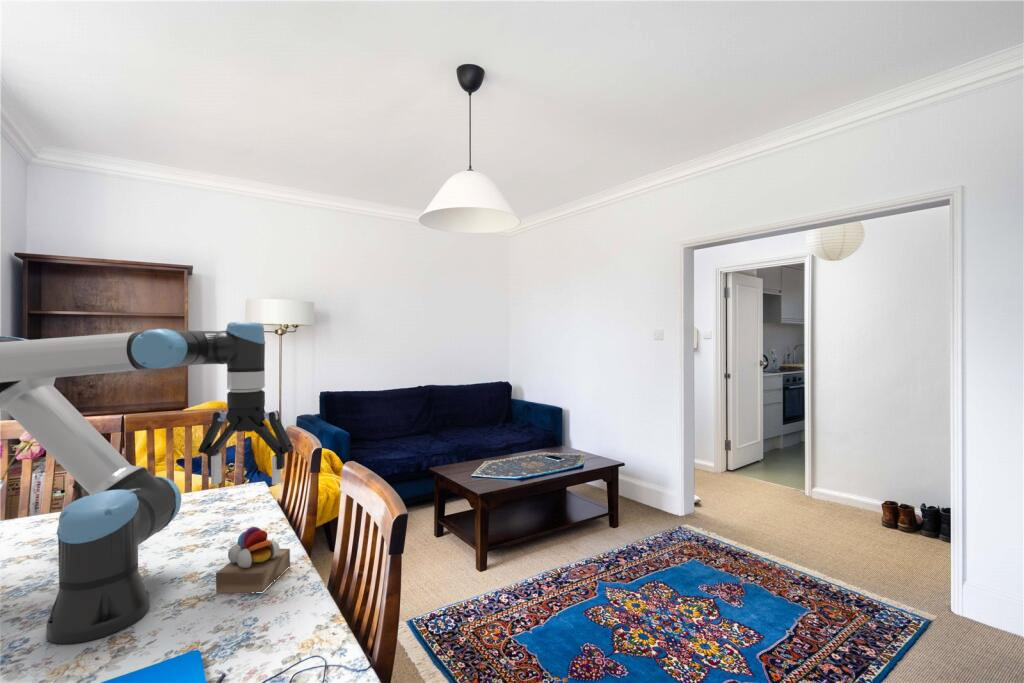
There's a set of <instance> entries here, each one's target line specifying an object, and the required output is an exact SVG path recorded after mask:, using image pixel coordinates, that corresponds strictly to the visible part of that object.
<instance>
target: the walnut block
mask: <svg viewBox="0 0 1024 683" xmlns="http://www.w3.org/2000/svg"><path fill="white" fill-rule="evenodd" d="M290 552H291V549H290V548H279V553H278V554H277V556H276V557H274V558H273V559H270V558H268V559H267V560H265V561H263V562H251V566H250V567H249V568H242V567H240V566H239V565H238V563H232V562H231V561H229V563H227V564H226V565H225V566H223V567H222V568H220V569H219V570H218V571H216V573H215V594H216V595H217V594H218V595H224V594H225V595H232V593H252V592H254V593H256V592H263V591H264V590H265V589H266V588H267V587H268V586H269V585H270V584H271V583H272V582H274V580H276V579H277V578H278V577H279V576H280V575H281V574H282V573H283V572H284V571H285V570H286V569H287V568H288V567H290V568H291V553H290ZM276 581H277V580H276ZM274 583H275V582H274Z"/></svg>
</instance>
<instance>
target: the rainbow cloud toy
mask: <svg viewBox="0 0 1024 683" xmlns="http://www.w3.org/2000/svg"><path fill="white" fill-rule="evenodd" d="M279 549H280V544H279V543H278V542H277V541H276V540H269V539H268V533H267V531H266V530H262V529H261V528H260V527H258V526H251V527H249V528H248V529H246V530H245V531H242V532H241V533H240V535H238V538H237V544H236V543H235V544H234V545H232V546H231V547H230V549H229V550H228V552H227V558H228V561H229V562H232V563H238V565H239V566H240V567H242V568H249V567H250V566H251V562H263V561H265V560H267V559H268V558H270V559H273V558H274V557H276V556H277V554H278V553H279Z"/></svg>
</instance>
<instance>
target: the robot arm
mask: <svg viewBox="0 0 1024 683" xmlns="http://www.w3.org/2000/svg"><path fill="white" fill-rule="evenodd" d="M265 340H266V338H265V327H264V325H263V323H260V322H252V321H234V322H233V321H231V322H229V323H227V325H226V329H225V330H219V331H218V330H217V331H216V330H215V331H214V330H187V329H186V330H184V329H183V330H181V329H179V330H178V329H169V328H153V329H147V330H145V331H131V332H120V333H119V332H118V333H106V334H105V333H104V334H93V335H92V334H91V335H79V336H66V337H64V336H63V337H54V338H53V337H51V338H40V339H37V338H36V339H26V338H23V337H22V338H21V337H15V336H8V335H6V336H5V335H3V336H2V335H1V336H0V411H1V412H2V411H4V412H7V414H9V415H10V417H12V419H14V420H15V421H16V422H17V423H18V424H19V425H20V427H22V428H23V429H24V431H25V432H27V433H28V434H29V435H30V436H31V437H32V438H33V439H34V440H35V441H36V442H37V443H38V444H39V446H41V447H42V449H44V450H45V451H46V453H47V454H49V455H50V456H51V457H52V458H53V459H54V461H56V462H57V463H58V464H59V465H60V466H61V467H62V468H63V469H64V470H65V471H66V472H67V473H68V474H69V475H70V477H72V478H73V479H74V480H75V481H77V482H78V483H79V484H80V485H81V486H82V487H83V488H84V489H85V490H86V491H87V492H88V493H89V495H90V496H85V497H83V498H80V499H78V500H76V501H74V500H73V501H74V502H73V501H72V502H71V503H68V504H67V505H66V506H65V507H64V508H63V509H62V511H61V512H60V513H59V516H58V517H59V518H58V525H57V530H56V535H57V539H58V540H57V543H58V544H57V545H58V550H57V551H58V593H57V595H56V598H55V600H54V603H53V606H52V608H51V611H50V615H49V617H48V619H47V621H46V622H47V623H46V632H45V633H46V639H47V640H48V642H50V643H53V644H59V645H62V644H63V645H70V644H78V643H83V642H84V643H85V642H88V641H92V640H97V639H100V638H103V637H105V636H108V635H111V634H114V633H117V632H120V631H121V630H123V629H127V628H128V627H129V626H132V625H133V624H134V623H136V622H137V621H139V620H140V619H142V618H143V617H145V615H146V614H147V613H148V612H149V610H150V603H151V602H150V601H151V600H150V593H149V592H148V590H147V589H146V586H145V583H144V581H143V579H142V576H141V574H140V572H139V545H141V544H142V543H144V542H145V541H146V540H148V539H149V538H151V537H152V536H154V535H155V534H157V533H159V532H161V531H162V530H164V529H165V528H166V527H167V526H168V525H169V524H170V523H171V522H172V521H173V520H174V519H175V518H176V517H177V516H178V514H179V512H180V509H181V506H182V494H181V490H180V488H179V486H178V485H177V484H176V483H175V482H174V481H173V480H172V479H170V478H168V477H165V476H158V475H156V476H155V475H153V474H152V472H150V471H149V470H148V469H147V468H146V467H145V466H144V465H132V464H130V463H129V462H128V460H127V459H125V457H124V456H123V455H122V454H121V453H120V452H119V451H118V450H117V449H116V448H115V447H114V446H113V445H112V444H111V443H110V442H109V441H108V440H107V439H106V438H105V437H104V435H102V434H101V432H99V431H98V430H97V428H95V426H93V424H91V423H90V421H88V420H87V418H85V417H84V416H83V415H82V413H81V412H80V411H79V410H78V409H76V407H75V406H74V405H73V404H72V403H71V402H70V401H69V400H68V399H67V398H66V397H65V396H64V395H63V394H62V393H61V392H60V391H59V390H58V389H57V388H56V387H55V386H54V385H55V381H56V379H57V378H64V377H66V378H67V377H76V376H77V377H78V376H87V375H88V376H89V375H98V374H109V373H120V372H130V371H141V370H143V371H144V370H163V369H171V368H176V367H185V366H186V367H187V366H188V367H189V366H197V365H226V373H227V374H226V389H227V390H228V392H227V393H226V406H227V409H228V410H227V411H224V410H218V411H215V412H213V413H212V419H211V420H212V421H211V422H210V423H211V424H210V426H209V427H208V429H207V431H206V434H205V436H203V439H202V441H201V444H200V446H199V447H198V451H197V452H198V453H200V454H205V455H206V456H207V469H208V470H210V482H211V483H210V486H216V485H219V484H220V483H222V480H223V479H222V475H223V474H222V472H223V471H222V465H223V464H222V463H223V462H222V461H223V460H222V453H219V452H220V450H222V448H223V447H224V446H225V445H226V444H227V442H228V440H230V438H231V437H232V436H233V435H234V434H235V433H236V432H237V433H242V432H247V433H251V432H254V433H255V434H257V435H258V436H259V437H260V438H261V440H262V441H263V442H264V443H265V444H266V445H267V446H268V447H269V448H270V450H271V451H272V452H273V453H274V455H272V456H271V486H277V485H279V484H280V483H281V482H282V469H284V468H285V466H286V464H285V463H286V460H285V458H286V457H285V456H286V454H287V453H290V452H291V451H293V450H294V445H293V443H292V442H291V439H290V437H289V435H288V432H286V429H285V427H284V425H283V424H282V422H281V421H282V420H280V412H279V410H273V411H270V412H269V411H268V412H266V410H265V405H266V400H265V399H266V392H265V390H263V389H264V388H265V386H266V383H265V381H266V379H265V378H266V376H265V375H266V374H265V363H266V362H265V359H266V358H265V357H266V354H265V353H266V341H265ZM226 420H227V421H228V422H229V423H228V425H227V426H226V427H225V429H224V431H223V432H222V433H221V434H220V436H218V434H219V432H220V429H221V428H222V426H223V424H224V421H226ZM265 420H267V422H269V425H270V427H271V429H272V431H273V433H274V434H273V433H272V432H271V431H270V430H269V427H268V426H267V425H266V423H265V422H264V421H265ZM217 436H218V438H217ZM216 438H217V439H216Z"/></svg>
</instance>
